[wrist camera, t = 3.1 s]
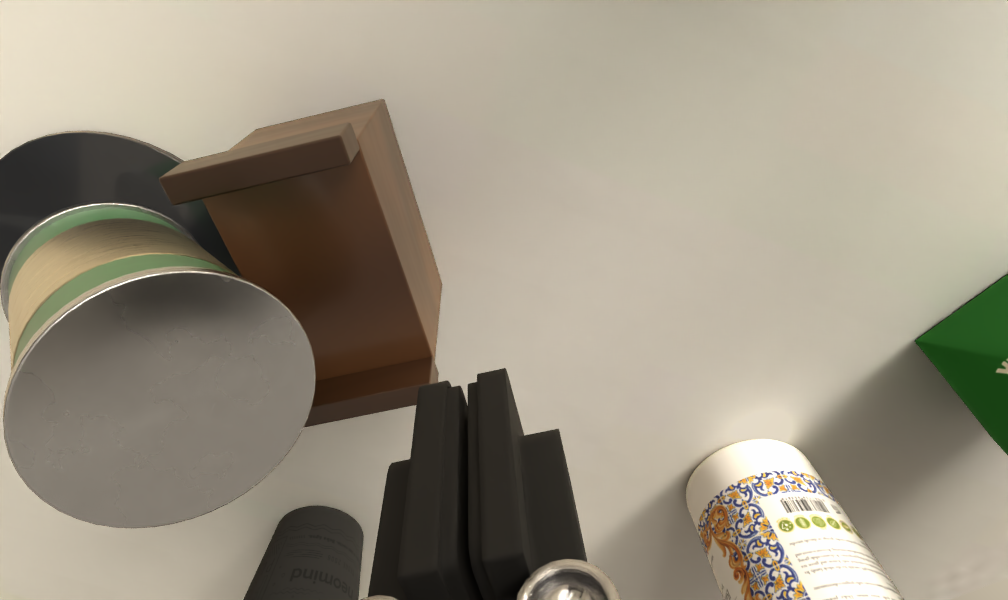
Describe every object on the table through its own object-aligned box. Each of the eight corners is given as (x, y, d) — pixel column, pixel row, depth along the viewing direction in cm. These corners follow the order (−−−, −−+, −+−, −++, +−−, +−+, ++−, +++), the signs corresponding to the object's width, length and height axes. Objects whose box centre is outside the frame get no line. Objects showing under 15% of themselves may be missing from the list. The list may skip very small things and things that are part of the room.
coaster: (-87, 167, 22) (-93, 170, 21) (190, 99, 21) (186, 101, 21) (83, 391, 27) (80, 395, 27) (307, 343, 26) (305, 347, 26)
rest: (249, 115, 21) (156, 178, 15) (379, 84, 21) (340, 134, 15) (336, 317, 26) (293, 430, 19) (445, 294, 25) (436, 401, 19)
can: (34, 203, 22) (-397, 437, 11) (330, 133, 21) (179, 311, 10) (127, 341, 25) (-135, 626, 14) (386, 285, 25) (317, 542, 14)
